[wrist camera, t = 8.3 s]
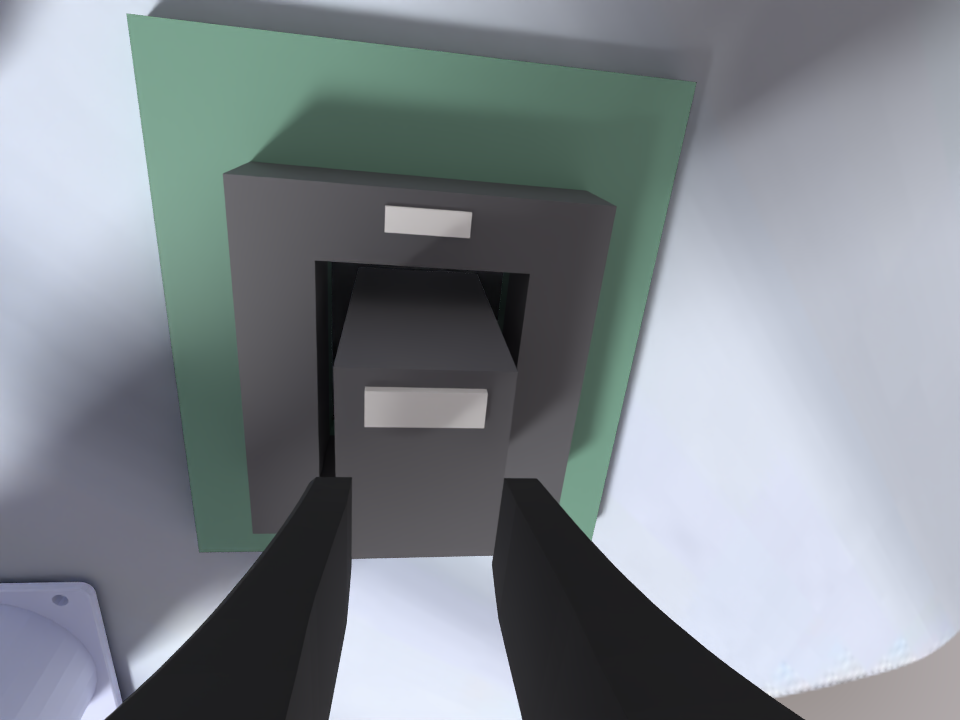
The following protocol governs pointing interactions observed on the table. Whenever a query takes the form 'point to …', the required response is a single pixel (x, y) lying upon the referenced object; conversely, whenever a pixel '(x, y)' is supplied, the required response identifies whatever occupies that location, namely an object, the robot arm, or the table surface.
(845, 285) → the table surface
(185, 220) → the board
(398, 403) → the plug
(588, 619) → the robot arm
